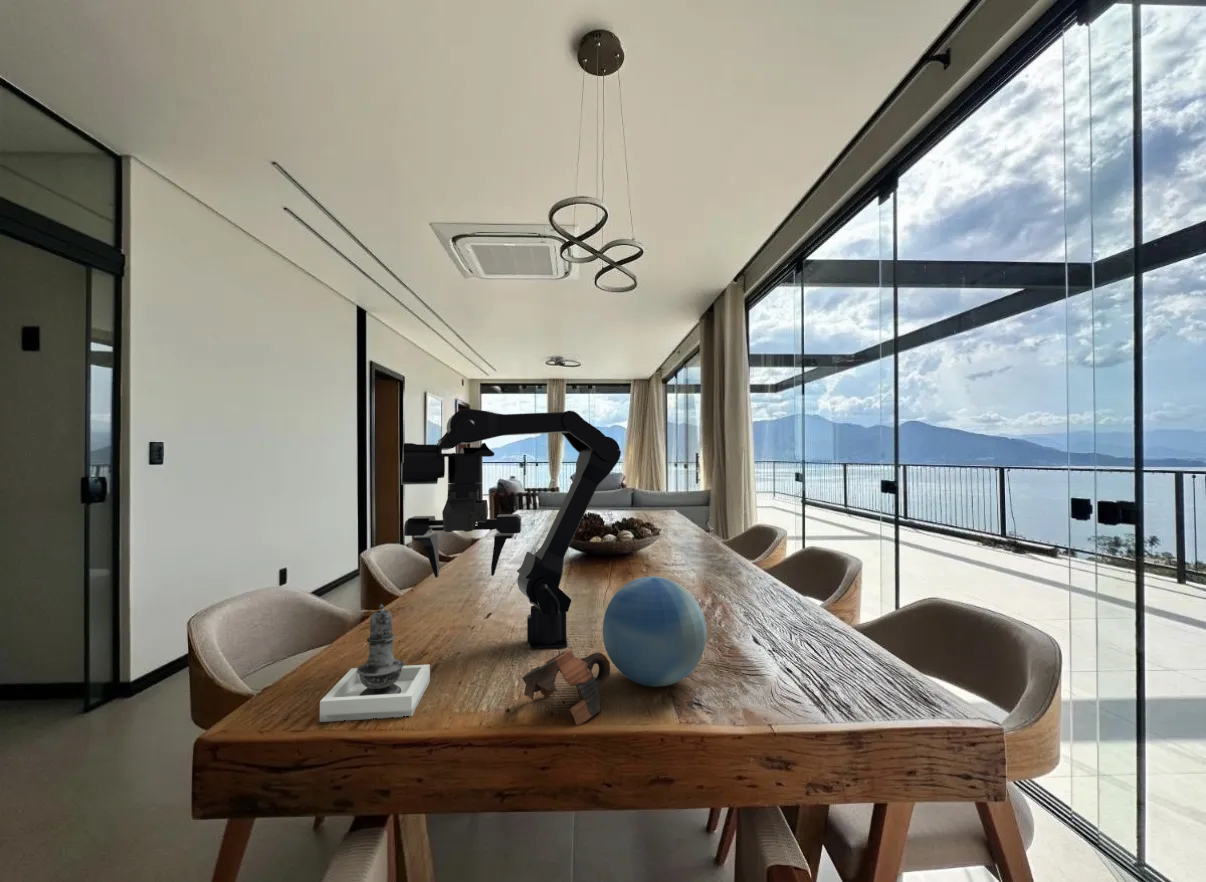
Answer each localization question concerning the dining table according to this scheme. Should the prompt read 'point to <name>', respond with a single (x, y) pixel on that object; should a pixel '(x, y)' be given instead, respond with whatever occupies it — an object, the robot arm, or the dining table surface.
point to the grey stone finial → (380, 657)
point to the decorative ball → (654, 631)
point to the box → (374, 697)
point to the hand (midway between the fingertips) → (465, 576)
